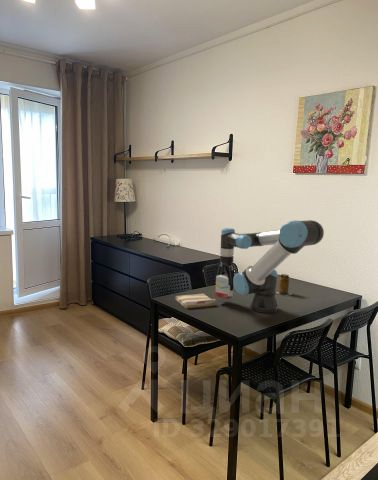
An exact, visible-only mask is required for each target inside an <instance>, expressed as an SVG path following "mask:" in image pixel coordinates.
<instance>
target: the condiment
mask: <svg viewBox="0 0 378 480" xmlns="http://www.w3.org/2000/svg"><path fill="white" fill-rule="evenodd" d="M279 277H280V278H278V279H279V280H278V291H276V293H275V294H278V295H283V296H286V297H287V296H292V295H293V293H291V292H289V287H290V279H289V277H290V276H289V275H288V274H286V273H283V274H280V276H279Z"/></svg>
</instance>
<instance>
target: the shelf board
mask: <svg viewBox="0 0 378 480" xmlns="http://www.w3.org/2000/svg"><path fill="white" fill-rule="evenodd" d="M174 299H175V301H177V302H178V303H179V304H181V306H182V307H184V308H185V309H193V308H202V307H203V308H204V307H211V306H212V307H214V306H216V302H217V301H216V298H213V299H212V298H211V297H209V296H207V295H206V294H205V293H196V294H182V295H175V298H174Z"/></svg>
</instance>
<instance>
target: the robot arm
mask: <svg viewBox="0 0 378 480" xmlns="http://www.w3.org/2000/svg"><path fill="white" fill-rule="evenodd" d="M220 231H221V232H220V252H219V253H220V254H219V255H220V256H219V257H220V258H219V262H218V267H217V273H216V276H219V275H224V274H226V275H227V277H228V279H229V284H228V296H233V285H234V288H235V292H236V293H238V295H241V296H248V295H251V294H253V296H252V298H251V300H250V302H249V308H250V309H251V310H252V311H255V312H258V313H264V314H273V313H276V312H278V306H279V305H278V302H277V298H276V294H277V293H276V292H277V281H278V272H277V269H276V268H278V267H279V266H280V265H281V264H282V263H283V262H284V261H285V260H286V259H287V258H288V257H289V256H290V255H294V254H297V253H299V251H301V250H302V249H303V248H304V247H307V246H314V245H315V246H316V245H317V244H319V243H320V242H321V241H322V240H323V239H324V235H325V232H324V231H325V230H324V228H323V225H322V224H321V223H320V222H318V221H316V220H313V219H312V220H311V219H310V220H309V219H308V220H291V221H287V222H285V223H284V224H283V225H282V226H281V227H280V229H274V230H269V231H268V230H267V231H259V232H252V233H238V232H237V233H236V232H235V229H234V228H232V227H224V228H222V229H221V230H220ZM263 246H271V248H269V249H268V251H266V252H265V253H264V255H262V256H261V257H260V258H259V259H258V261H256V262H255V264H253V265H249V266H247V267H246V268H245V269H244V270H243V271H242V272H238V273H236V274H235V266H232V264H233V263H234V254H235V252H234V251H235V249H234V248H239V249H244V250H247V249H249V248H253V247H263ZM233 297H234V296H233Z"/></svg>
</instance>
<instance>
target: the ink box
mask: <svg viewBox="0 0 378 480" xmlns="http://www.w3.org/2000/svg"><path fill="white" fill-rule="evenodd" d="M228 284H229V279H228V277H227V274H226V273H225V274H224V275H219V276H217V275H216V276H215V293H214V294H215V297H219V298H222V299H225V300H226V299H227V300H228V299H231V298H233V297H235V296H236V290H235V288H234V285H233V296H228Z"/></svg>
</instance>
